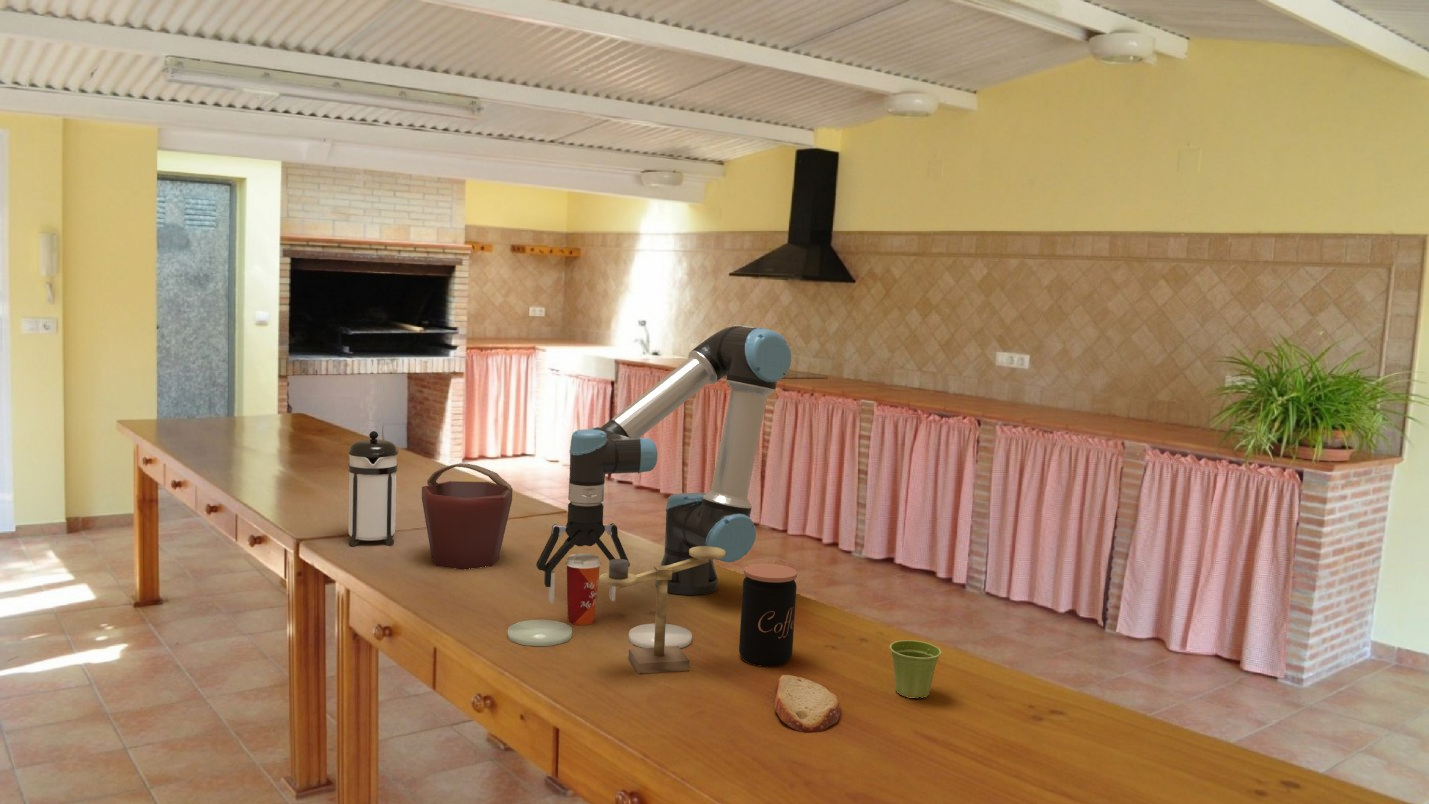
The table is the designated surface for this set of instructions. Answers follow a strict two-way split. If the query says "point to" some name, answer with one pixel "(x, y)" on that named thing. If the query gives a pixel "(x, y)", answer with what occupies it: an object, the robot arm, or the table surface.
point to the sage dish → (539, 632)
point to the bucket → (466, 519)
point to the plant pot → (914, 666)
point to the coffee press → (372, 490)
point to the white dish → (673, 636)
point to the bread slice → (805, 704)
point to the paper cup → (582, 587)
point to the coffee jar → (767, 614)
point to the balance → (658, 608)
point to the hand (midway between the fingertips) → (581, 600)
